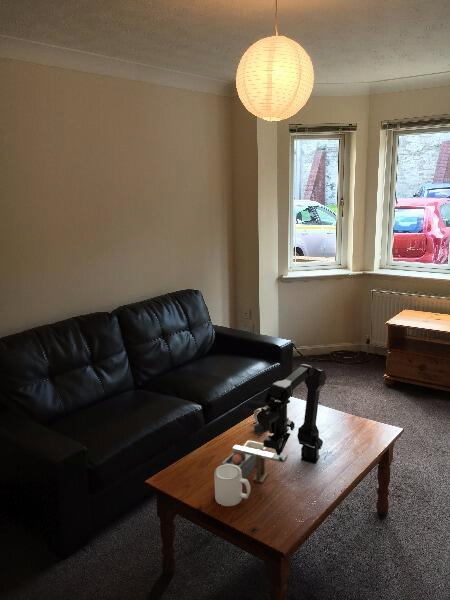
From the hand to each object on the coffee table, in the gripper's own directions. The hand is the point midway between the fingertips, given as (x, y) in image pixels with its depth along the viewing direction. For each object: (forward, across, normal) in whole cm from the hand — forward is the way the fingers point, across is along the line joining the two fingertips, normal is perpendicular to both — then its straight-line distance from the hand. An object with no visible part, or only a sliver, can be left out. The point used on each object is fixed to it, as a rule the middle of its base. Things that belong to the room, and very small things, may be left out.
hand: (279, 453), depth 183 cm
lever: (+7, 0, -9) cm, 11 cm away
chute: (+12, 0, -17) cm, 21 cm away
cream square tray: (+12, -14, -17) cm, 25 cm away
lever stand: (+12, 0, -8) cm, 15 cm away
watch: (+13, -36, -22) cm, 44 cm away
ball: (+5, +3, -17) cm, 18 cm away
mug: (+13, +16, -13) cm, 25 cm away
